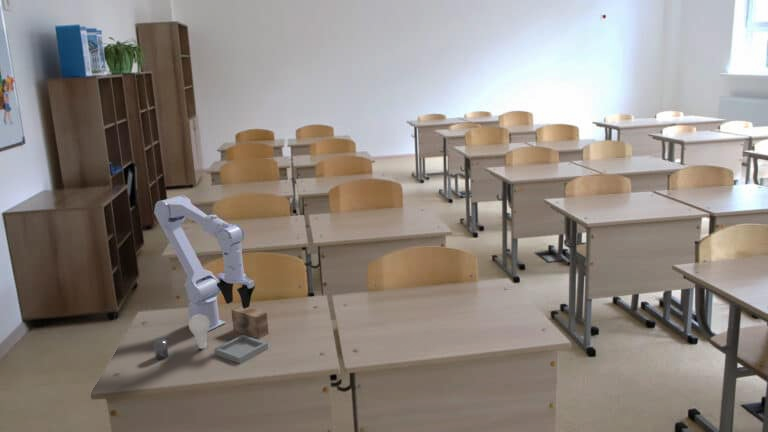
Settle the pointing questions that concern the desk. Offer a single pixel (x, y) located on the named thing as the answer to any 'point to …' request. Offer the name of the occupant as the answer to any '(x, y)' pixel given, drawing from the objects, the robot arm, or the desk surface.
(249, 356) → the tray
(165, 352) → the fuse
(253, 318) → the lamp housing
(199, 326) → the lightbulb
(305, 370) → the desk surface
